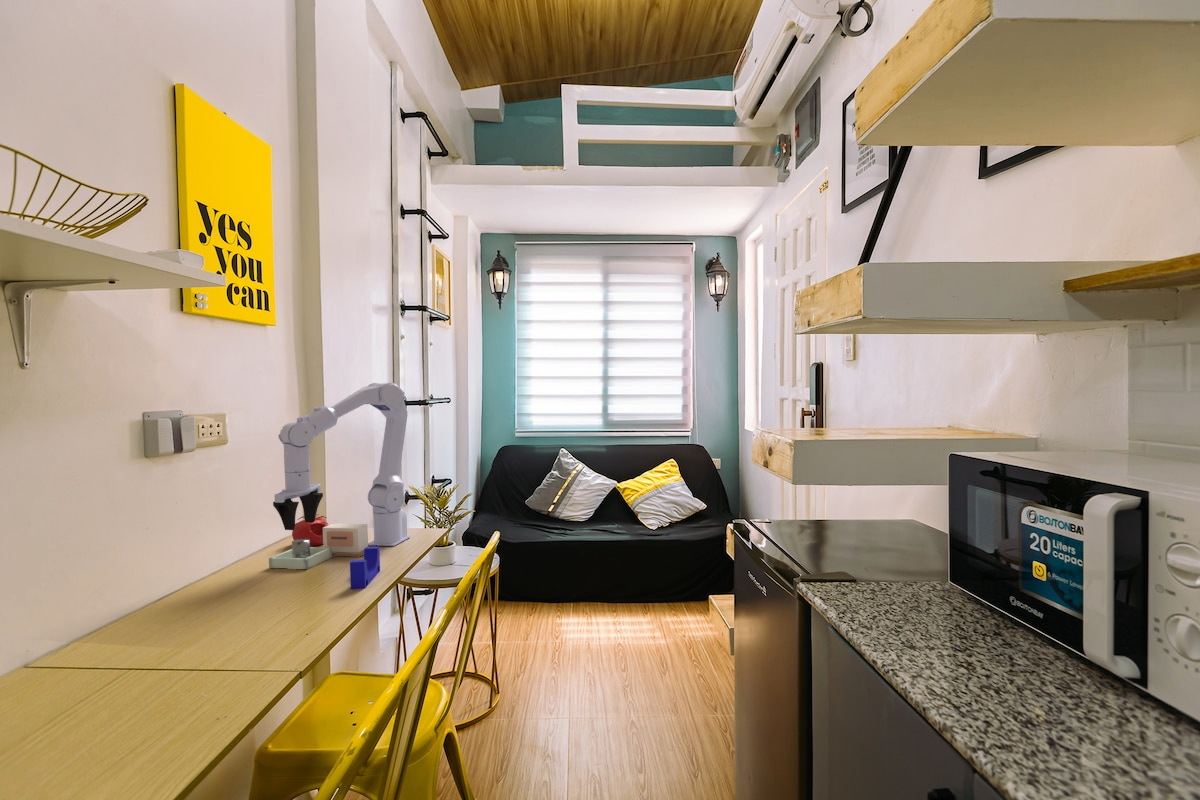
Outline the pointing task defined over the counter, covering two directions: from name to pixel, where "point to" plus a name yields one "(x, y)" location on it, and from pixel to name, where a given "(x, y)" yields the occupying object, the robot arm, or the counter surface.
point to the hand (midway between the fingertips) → (300, 525)
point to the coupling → (301, 548)
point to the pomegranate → (310, 530)
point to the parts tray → (300, 559)
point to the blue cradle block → (365, 568)
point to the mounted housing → (346, 539)
